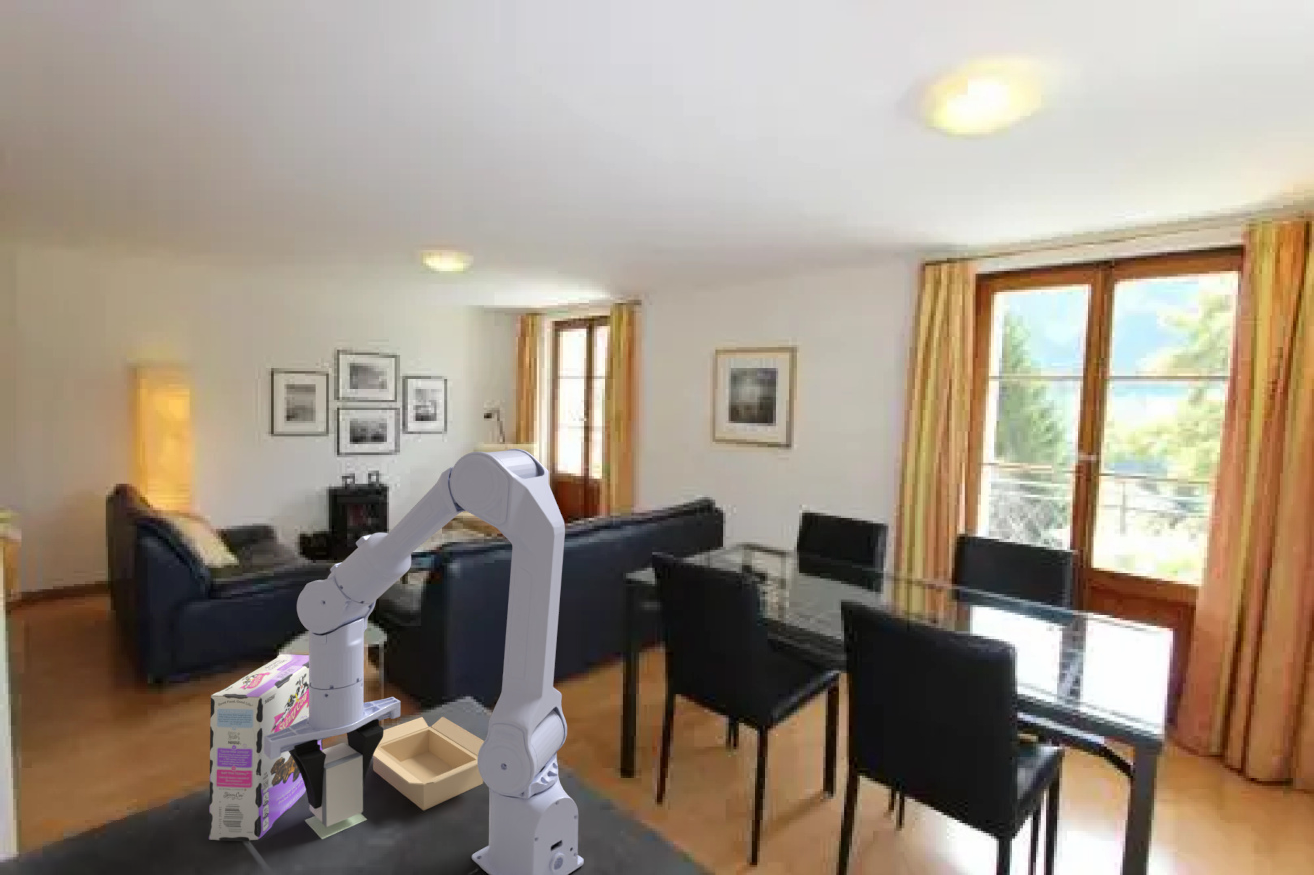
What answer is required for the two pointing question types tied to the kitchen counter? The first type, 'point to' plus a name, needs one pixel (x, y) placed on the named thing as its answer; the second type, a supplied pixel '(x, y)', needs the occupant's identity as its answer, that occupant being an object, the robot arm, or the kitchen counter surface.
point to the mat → (334, 828)
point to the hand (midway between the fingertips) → (336, 796)
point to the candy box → (255, 749)
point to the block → (340, 785)
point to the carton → (428, 760)
